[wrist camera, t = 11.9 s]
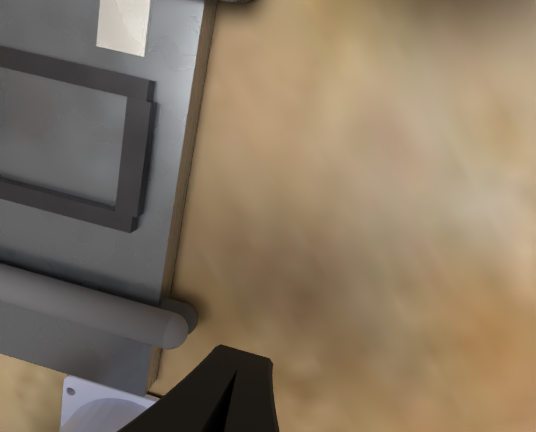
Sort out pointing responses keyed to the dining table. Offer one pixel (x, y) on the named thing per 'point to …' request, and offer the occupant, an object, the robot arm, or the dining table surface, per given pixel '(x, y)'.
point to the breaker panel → (96, 165)
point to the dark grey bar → (99, 308)
